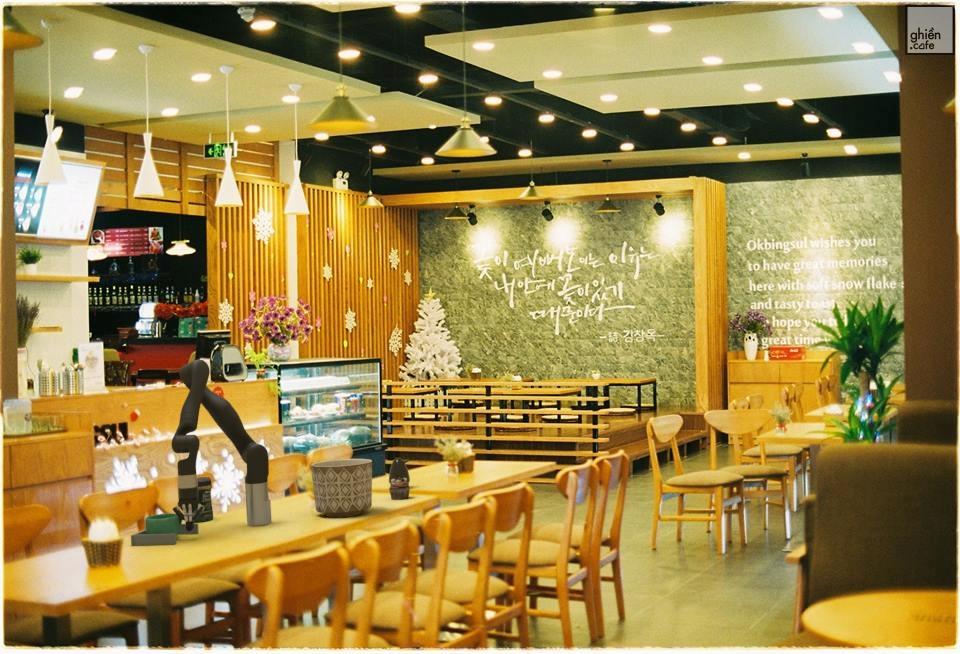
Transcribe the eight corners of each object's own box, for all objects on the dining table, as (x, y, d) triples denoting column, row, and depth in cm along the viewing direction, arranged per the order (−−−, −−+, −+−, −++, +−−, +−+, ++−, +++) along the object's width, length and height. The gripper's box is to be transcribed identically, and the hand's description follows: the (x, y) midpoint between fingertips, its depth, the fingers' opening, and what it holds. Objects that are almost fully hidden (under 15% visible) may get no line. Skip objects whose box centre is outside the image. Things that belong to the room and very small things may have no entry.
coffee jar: (199, 523, 486) (197, 479, 486) (187, 522, 491) (184, 478, 491) (217, 519, 494) (214, 476, 494) (204, 518, 499) (201, 475, 499)
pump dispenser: (409, 489, 554) (408, 458, 554) (388, 491, 554) (386, 459, 554) (411, 486, 564) (409, 456, 564) (390, 488, 565) (388, 457, 565)
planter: (357, 506, 508) (354, 457, 508) (385, 513, 486) (382, 461, 486) (303, 514, 494) (300, 463, 494) (329, 521, 472) (327, 468, 472)
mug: (161, 544, 439) (160, 519, 439) (139, 542, 446) (138, 518, 446) (194, 536, 453) (193, 512, 453) (172, 534, 460) (171, 511, 460)
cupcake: (414, 497, 528) (413, 475, 528) (402, 500, 520) (400, 478, 520) (397, 496, 533) (396, 475, 533) (385, 500, 525) (384, 478, 525)
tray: (198, 533, 460) (198, 523, 460) (175, 544, 437) (174, 534, 437) (156, 534, 463) (156, 524, 463) (131, 545, 439) (130, 535, 439)
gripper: (207, 484, 451) (209, 528, 451) (175, 485, 452) (177, 529, 452) (200, 486, 443) (202, 531, 443) (167, 488, 445) (170, 533, 445)
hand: (190, 530), depth 448 cm, fingers closed
